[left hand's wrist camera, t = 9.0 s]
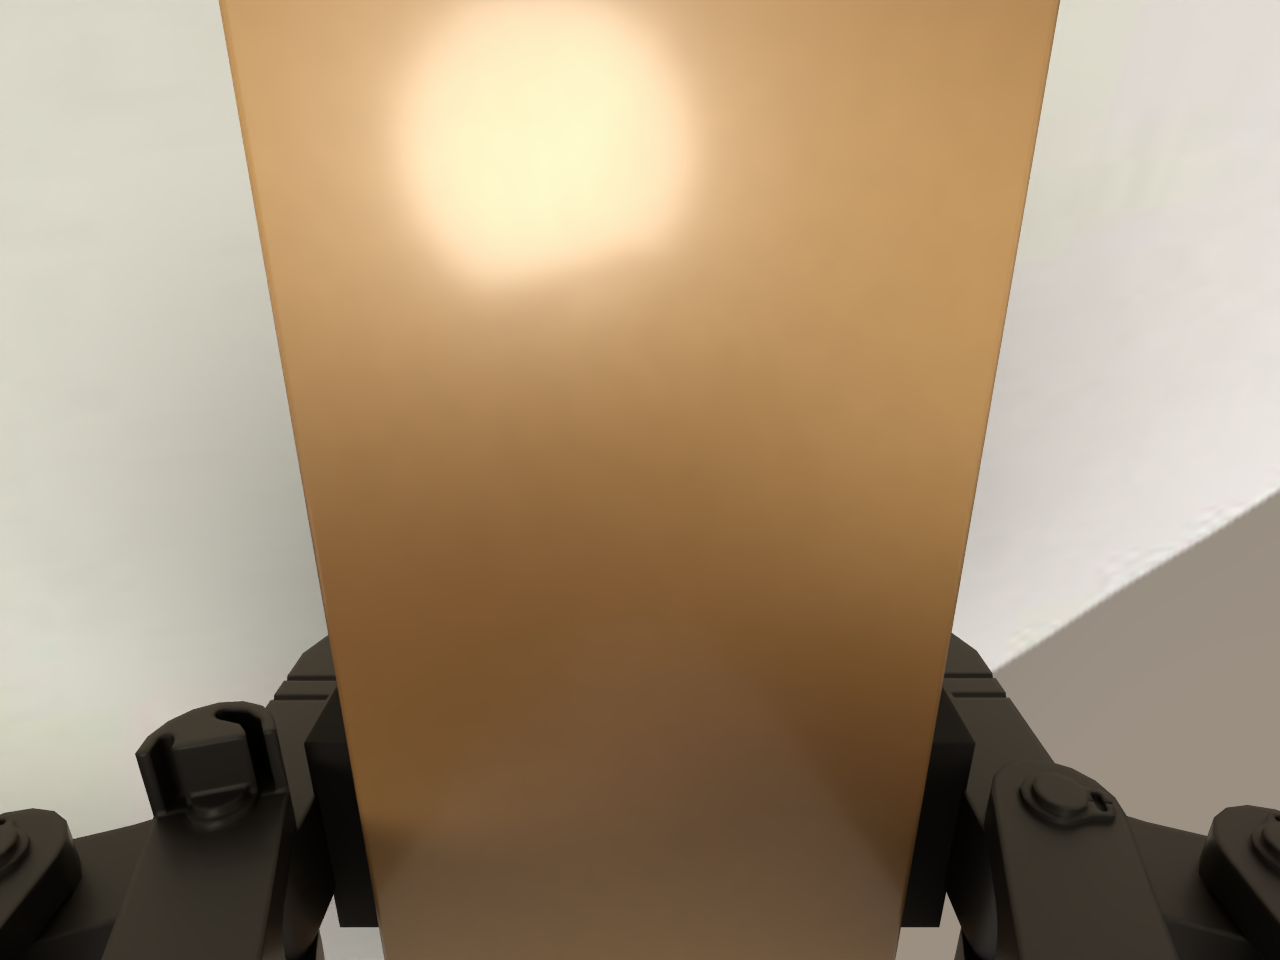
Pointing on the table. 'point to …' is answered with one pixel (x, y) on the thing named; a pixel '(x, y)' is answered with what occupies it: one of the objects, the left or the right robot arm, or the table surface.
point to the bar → (639, 440)
